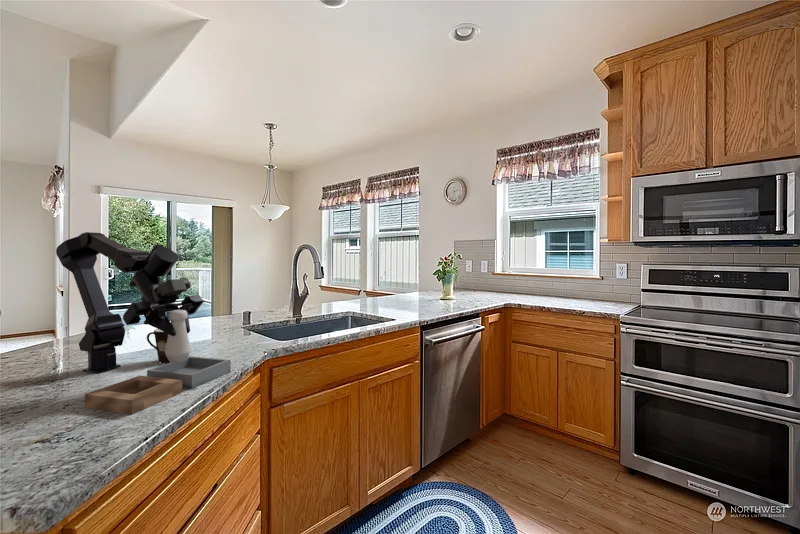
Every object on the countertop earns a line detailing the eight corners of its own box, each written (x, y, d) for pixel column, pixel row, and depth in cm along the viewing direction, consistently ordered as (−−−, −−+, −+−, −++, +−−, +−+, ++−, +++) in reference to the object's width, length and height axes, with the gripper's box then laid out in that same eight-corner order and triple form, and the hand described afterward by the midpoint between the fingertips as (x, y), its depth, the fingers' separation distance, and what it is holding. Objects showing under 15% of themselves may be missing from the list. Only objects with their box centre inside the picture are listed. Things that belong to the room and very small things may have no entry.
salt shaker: (185, 363, 95) (184, 312, 94) (160, 363, 94) (160, 312, 94) (194, 356, 101) (194, 308, 100) (171, 357, 100) (171, 308, 99)
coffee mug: (192, 359, 120) (191, 328, 119) (163, 366, 112) (162, 333, 112) (173, 354, 126) (172, 324, 125) (144, 360, 118) (143, 328, 118)
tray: (147, 383, 97) (146, 370, 97) (189, 367, 111) (189, 356, 111) (192, 389, 94) (191, 375, 94) (230, 372, 107) (230, 359, 107)
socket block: (85, 407, 82) (84, 394, 82) (139, 387, 95) (139, 375, 95) (132, 414, 79) (131, 400, 79) (182, 392, 92) (182, 380, 91)
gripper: (130, 269, 89) (161, 319, 86) (199, 266, 107) (227, 308, 103) (109, 299, 93) (139, 349, 89) (179, 292, 110) (207, 334, 106)
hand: (181, 333), depth 97 cm, fingers closed on salt shaker, 3 cm apart
